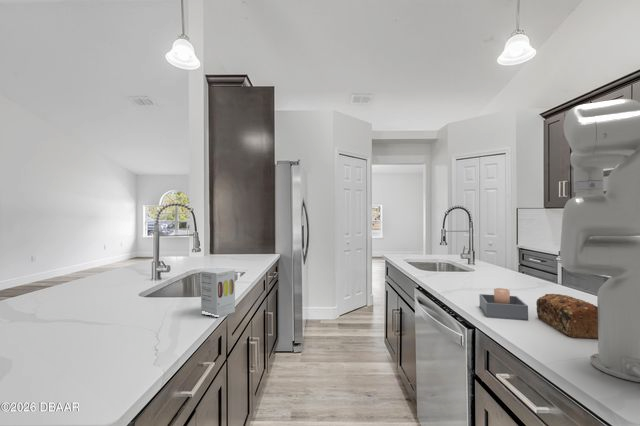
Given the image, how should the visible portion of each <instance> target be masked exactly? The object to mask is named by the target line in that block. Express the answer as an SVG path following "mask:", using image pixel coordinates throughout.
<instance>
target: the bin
mask: <svg viewBox="0 0 640 426" xmlns="http://www.w3.org/2000/svg"><path fill="white" fill-rule="evenodd" d="M478 295H479V308H480V309H481V311H482V313H483V314H484V316H485V317H486V318H490V319H491V318H492V319H493V318H494V319H504V320H507V319H508V320H518V321H519V320H521V321H529V305H528V304H527V303H526V302H524V301H523V300H522V299H520V298H519V296H517V295H510V304H497V303H494V294H486V293H483V294H481V293H479V294H478Z"/></svg>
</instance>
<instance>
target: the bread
mask: <svg viewBox="0 0 640 426" xmlns="http://www.w3.org/2000/svg"><path fill="white" fill-rule="evenodd" d="M535 304H536V314H537V318H538V319H539V320H541V321H542V322H543V323H546V324H547V325H549V326H550V327H552V328H554V329H555V330H557V331H558V332H560V333H562V334H564V335H566V336H567V337H571V338H576V339H595V340H598V305H597V306H596V304H593V303H591V302H587V301H585V300H582V299H579V298H576V297H573V296H570V295H566V294H560V293H559V294H557V293H556V294H555V293H546V294H544V295H543V296H540V297H539V298H537V300H536V303H535Z"/></svg>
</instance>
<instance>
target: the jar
mask: <svg viewBox="0 0 640 426" xmlns="http://www.w3.org/2000/svg"><path fill="white" fill-rule="evenodd" d="M510 293H511V292H510V289H507V288H502V287H501V288H500V287H497V288H494V289H493V295H494V303H497V304H510V296H511V295H510Z"/></svg>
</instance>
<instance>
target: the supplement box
mask: <svg viewBox="0 0 640 426" xmlns="http://www.w3.org/2000/svg"><path fill="white" fill-rule="evenodd" d="M235 271H236V270H235V269H233V268H223V267H218V268H214V269H213V268H212V269H208V270H202V271H200V301H201V302H200V303H201V304H200V305H201V307H200V309H201V310H202V311H205V312H208V313H211V314H214V315H219V316H220V317H219V318H221V317H224V316H226V315H231V314H232V313H235V312H236V287H235V286H236V281H235V280H236V279H235V278H236V277H235V276H236V274H235V273H236V272H235Z"/></svg>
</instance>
